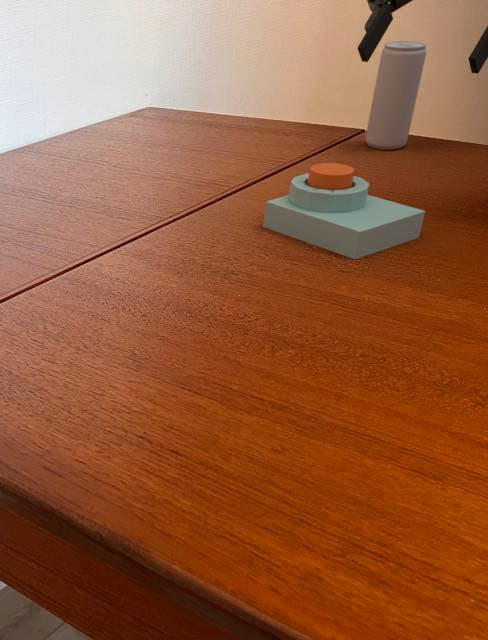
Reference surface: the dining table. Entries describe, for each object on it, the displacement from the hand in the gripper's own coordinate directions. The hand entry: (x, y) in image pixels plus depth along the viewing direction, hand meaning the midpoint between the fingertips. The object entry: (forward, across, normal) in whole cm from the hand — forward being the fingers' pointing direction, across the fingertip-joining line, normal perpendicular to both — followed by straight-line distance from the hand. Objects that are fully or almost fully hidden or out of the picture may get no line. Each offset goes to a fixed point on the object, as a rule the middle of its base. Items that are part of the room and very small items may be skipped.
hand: (415, 60), depth 105 cm
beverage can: (+10, 0, -4) cm, 10 cm away
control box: (+32, -12, +18) cm, 38 cm away
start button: (+28, -10, +21) cm, 37 cm away
